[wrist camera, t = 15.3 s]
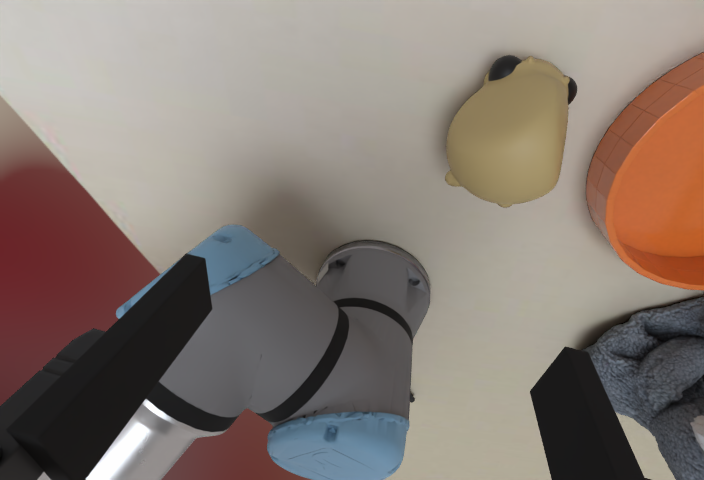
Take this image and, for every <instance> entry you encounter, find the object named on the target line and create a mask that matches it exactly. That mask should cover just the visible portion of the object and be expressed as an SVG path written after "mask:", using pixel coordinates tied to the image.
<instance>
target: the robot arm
mask: <svg viewBox="0 0 704 480" xmlns="http://www.w3.org/2000/svg"><path fill="white" fill-rule="evenodd" d="M279 253H280V252H279V251H278V250H277V249H275V248H271V247H270V246H269V245H268V244H266V243H265V242H264V241H263V240H261V239H260V238H259V237H258V236H256V235H255V234H254V233H253V232H251V231H250V230H249V229H247V228H246V227H243V226H241V225H227V226H224V227H222V228H220V229H219V230H217V231H216V232H214V233H213V234H212V235H210V236H209V237H208V238H207V239H205V240H204V241H203V242H201V243H200V244H199V245H198V246H196V247H195V248H194V249H192V250H191V251H190V252H189V253H187V254H185V255H184V256H183V257H182V258H181V259H180V260H178V261H177V262H176V263H175V264H173V265H172V266H171V267H169V268H168V269H167V270H166V271H164V272H163V273H162V274H161V275H159V276H158V277H157V278H156V279H154V280H153V281H152V282H151V283H149V284H148V285H147V286H146V287H144V288H143V289H142V290H141V291H139V292H138V293H137V294H136V295H134V296H133V297H132V298H131V299H130V300H128V301H127V302H126V303H124V304H123V305H122V306H120V307H119V308H118V309H117V311H116V316H117V317H118V318H119V320H118V321H117V322H116V323H115V324H114V325H113V326H112V327H111V328H109V329H108V331H106V332H105V331H101V330H97V329H94V328H93V329H92V330H90V331H88V332H86V333H85V334H83V335H81V336H79V337H78V338H76V339H74V340H72V341H71V342H70V343H69V345H67V346H66V347H65V348H64V349H63V350H62V351H61V352H59V353H58V354H57V356H56V358H53V359H52V360H51V361H50V362H49V363H47V364H46V365H45V366H44V367H43V370H41V371H39V372H38V373H36V374H35V375H34V376H33V377H32V378H31V379H30V380H29V381H27V382H26V383H25V384H24V385H23V386H22V387H21V388H20V389H19V390H18V391H17V392H15V393H14V394H13V395H12V396H11V397H10V398H9V399H8V400H7V401H6V402H4V403H3V404H2V405H1V406H0V480H161V479H162V478H163V477H164V475H165V474H166V473H167V472H168V471H169V469H170V468H171V467H172V466H173V465H174V464H175V462H176V461H177V460H178V459H179V458H180V456H181V455H182V454H183V453H184V452H185V450H186V449H187V448H188V447H189V446H190V445H191V443H192V442H193V441H194V440H195V439H196V438H198V437H207V436H214V435H219V434H222V433H224V432H225V431H226V430H227V429H228V428H229V427H230V426H231V425H232V423H233V422H234V421H235V420H236V418H237V417H238V416H239V415H240V414H241V413H242V411H243V410H245V409H246V408H249V409H250V410H252V411H253V412H255V413H256V414H258V415H259V416H261V417H262V418H264V419H265V420H266V421H268V422H269V423H271V424H272V426H273V429H272V430H271V431H270V432H269V435H268V445H267V450H268V453H269V455H270V456H271V458H272V460H273V461H274V462H275V463H276V464H278V465H279V466H281V467H283V468H284V469H285V470H287V471H290V472H292V473H294V474H297V475H299V476H302V477H306V478H309V479H313V480H383V479H385V478H387V477H389V476H391V475H392V474H393V473H394V472H395V471H396V470H397V469H398V468H399V466H400V465H401V462H402V460H403V456H404V449H405V441H406V433H407V431H408V429H409V406H410V402H414V400H415V398H414V397H413V395H412V394H411V393H410V386H411V366H412V344H413V338H414V336H415V334H416V332H417V330H418V329H419V327H420V325H421V323H422V321H423V319H424V317H425V315H426V313H427V310H428V308H429V304H430V282H429V279H428V276H427V274H426V272H425V270H424V268H423V267H422V266H421V264H420V263H419V262H418V261H417V260H416V259H415V258H414V257H413V256H411V255H410V254H409V253H407V252H406V251H404V250H402V249H400V248H398V247H396V246H393V245H390V244H387V243H383V242H378V241H358V242H352V243H349V244H346V245H343V246H341V247H339V248H337V249H336V250H334V251H333V252H332V253H331V254H330V255H329V256H328V257H327V258H326V259H325V261H324V263H323V265H322V267H321V269H320V271H319V274H318V277H317V284H316V286H315V285H314V284H313V283H312V282H310V281H309V280H308V279H307V278H306V277H305V276H304V275H303V274H301V273H300V272H299V271H298V270H297V269H296V268H295V267H293V266H292V265H291V264H290V263H289V262H288V261H287V260H286V259H284V258H283V257H282V256H281V255H280V254H279ZM530 394H531V398H532V402H533V406H534V410H535V414H536V418H537V422H538V426H539V430H540V434H541V438H542V442H543V446H544V450H545V454H546V458H547V462H548V466H549V470H550V474H551V478H552V480H651V479H647V478H644V476H643V474H642V471H641V469H640V467H639V465H638V462H637V460H636V458H635V456H634V453H633V451H632V449H631V447H630V444H629V442H628V440H627V438H626V436H625V433H624V431H623V429H622V427H621V424H620V422H619V420H618V418H617V415H616V413H615V411H614V409H613V406H612V404H611V402H610V400H609V397H608V395H607V393H606V391H605V389H604V386H603V384H602V382H601V380H600V377H599V375H598V373H597V371H596V368H595V366H594V364H593V362H592V359H591V357H590V355H589V353H588V352H585V351H581V350H577V349H573V348H569V347H565V348H564V349H563V350H562V351H561V353H560V354H559V355H558V356H557V358H556V359H555V360H554V361H553V363H552V364H551V365H550V367H549V368H548V369H547V370H546V372H545V373H544V374H543V375H542V377H541V378H540V379H539V381H538V382H537V383H536V384H535V386H534V387H533V388H532V389H531V391H530Z"/></svg>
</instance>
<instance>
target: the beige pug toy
mask: <svg viewBox="0 0 704 480" xmlns="http://www.w3.org/2000/svg"><path fill="white" fill-rule="evenodd" d="M576 93H577V85H576V83H575V81H574V80H573V79H572V78H570V77H568V76H564V75H563V74H562V72H561V71H560V70H559V69H558V68H556V67H555V66H554V65H553V64H551V63H549V62H547V61H544V60H541V59H534V58H533V57H532V56H529V57H528V58H527V59H526V60H523V61H521V60H520V59H519V58H518V57H515V56H511V55H508V56H503V57H501V58H499V59H498V60H496V62H495V63H494V64H493V65H492V67H491V69H490V70H489V72H488V73H487V74H486V76H485V79H484V86H483V87H482V88H481V89H480V90H479V91H477V92H476V93H475V94H474V95H473V96H471V97H470V98H469V99H468V100H467V101H466V102H465V103H464V104H463V106H462V107H461V108H460V109H459V111H458V112H457V114H456V115H455V117H454V119H453V121H452V123H451V125H450V128H449V132H448V136H447V144H446V152H447V159H448V163H449V166H450V169H451V170H450V171H449V172H447V174H446V176H445V180H446V182H447V183H448V184H449V185H451V186H461V187H464V188H465V189H466V190H467V191H469V192H470V193H472V194H473V195H475V196H477V197H478V198H481V199H483V200H486V201H489V202H493V203H497V204H498V205H499V206H501V207H510V206H511V205H512V204H519V203H524V202H528V201H532V200H534V199H537V198H539V197H542V196H544V195H545V194H547V193H549V192H550V191H551V190H552V189H553V188H554V187H555V185H556V183H557V181H558V178H559V175H560V170H561V164H562V158H563V152H564V145H565V139H566V131H567V123H568V105H569V104H570V103H571V102H572V101H573V99H574V98H575V96H576Z"/></svg>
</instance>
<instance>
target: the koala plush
mask: <svg viewBox="0 0 704 480" xmlns="http://www.w3.org/2000/svg"><path fill="white" fill-rule="evenodd" d="M635 314H636V315H632V317H630V318H631V319H630V320H629V322H627V323H624V324H620V325H616V326H613V327H612V328H611V329H610V330H608V331H607V332H605V333H604V334H603V335H602V336H601V337H600V338H599V339H598V340H597V343H595V344H594V345H591V346H590V347H587V348H586V349H583V350H582V351H585V352H588V353H589V355H590V357H591V359H592V362H593V364H594V366H595V368H596V371H597V373H598V375H599V377H600V380H601V382H602V384H603V386H604V389H605V391H606V393H607V395H608V397H609V400H610V402H611V404H612V406H613V409H614V411H615V412H617V413H619V414H621V415H625V416H628V417H631V418H633V419H634V420H636V421H637V422H638V423H639V424H640V425H641V426H643V427H645V428H646V429H648V430H649V431H650V432H651V433H652V435H653V436H655V438H656V441H657V443H658V448H659V451H660V452H661V454H662V456H663V458H664V459H665V461H666V462H667V464H668V467H669V469H670V470H671V472H672V473H673V475H674V477H675V479H676V480H704V297H702V298H698V299H693V300H688V301H684V302H681V303H679V304H678V303H677V304H674V305H672V306H671V307H670V306H667V307H665V308H661V309H660V308H658V309H651V310H645V311H643V310H642V311H641V312H638V313H635Z"/></svg>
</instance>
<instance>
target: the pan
mask: <svg viewBox="0 0 704 480" xmlns="http://www.w3.org/2000/svg"><path fill="white" fill-rule="evenodd" d="M586 198H587V204H588V208H589V211H590V214H591V217H592V220H593V221H594V223H595V224H596V225H597V227H598V228H599V230H600V231H601V233H602V234H603V236H604V237H605V238H606V240H607V241H608V242H609V244H610V245H611V246H612V248H613V249H614V250H615V252H616V253H617V254H618V256H619V257H620V258H621V260H622V261H623V262H625V263H626V264H627V265H628V266H630V267H631V268H632V269H633V270H635V271H636V272H637V273H639V274H641V275H643V276H645V277H647V278H650V279H652V280H654V281H656V282H659V283H661V284H665V285H670V286H674V287H679V288H683V289H690V290H704V53H701V54H699V55H697V56H695V57H693V58H691V59H690V60H688V61H686V62H684V63H683V64H681V65H679V66H678V67H676V68H674V69H672V70H671V71H670V72H668V73H667V74H665V75H664V76H662V77H661V78H660V79H658V80H657V81H655V82H654V83H653V84H651V85H650V86H649V87H648V88H647V89H646V90H644V91H643V92H642V93H641V94H640V95H638V96H637V97H636V98H635V99H634V100H633V101H632V102H631V103H630V104H629V105H628V106H627V107H626V108H625V109H624V110H623V111H622V112H621V114H620V115H619V116H618V117H617V119H616V120H615V121H614V122H613V124H612V125H611V126H610V127H609V129H608V130H607V132H606V134H605V135H604V137H603V138H602V140H601V141H600V143H599V145H598V147H597V149H596V151H595V154H594V156H593V158H592V161H591V164H590V167H589V171H588V176H587V182H586Z"/></svg>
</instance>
